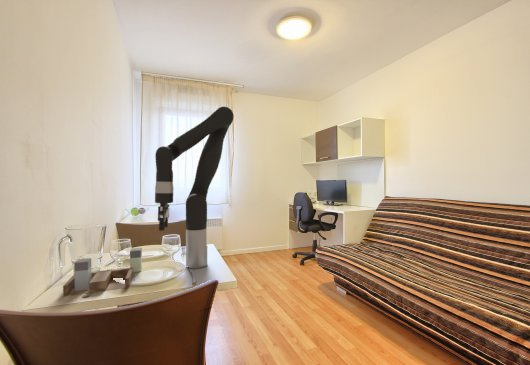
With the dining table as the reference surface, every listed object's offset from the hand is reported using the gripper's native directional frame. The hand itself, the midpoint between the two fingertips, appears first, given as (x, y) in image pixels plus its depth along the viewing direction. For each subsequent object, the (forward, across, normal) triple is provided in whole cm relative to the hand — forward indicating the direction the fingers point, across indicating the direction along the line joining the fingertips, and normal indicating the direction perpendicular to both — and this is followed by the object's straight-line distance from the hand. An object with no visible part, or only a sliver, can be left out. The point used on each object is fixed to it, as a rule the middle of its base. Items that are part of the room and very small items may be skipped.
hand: (163, 228), depth 112 cm
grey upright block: (+18, -1, +10) cm, 21 cm away
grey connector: (+18, -16, +24) cm, 34 cm away
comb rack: (+19, -14, +19) cm, 30 cm away
